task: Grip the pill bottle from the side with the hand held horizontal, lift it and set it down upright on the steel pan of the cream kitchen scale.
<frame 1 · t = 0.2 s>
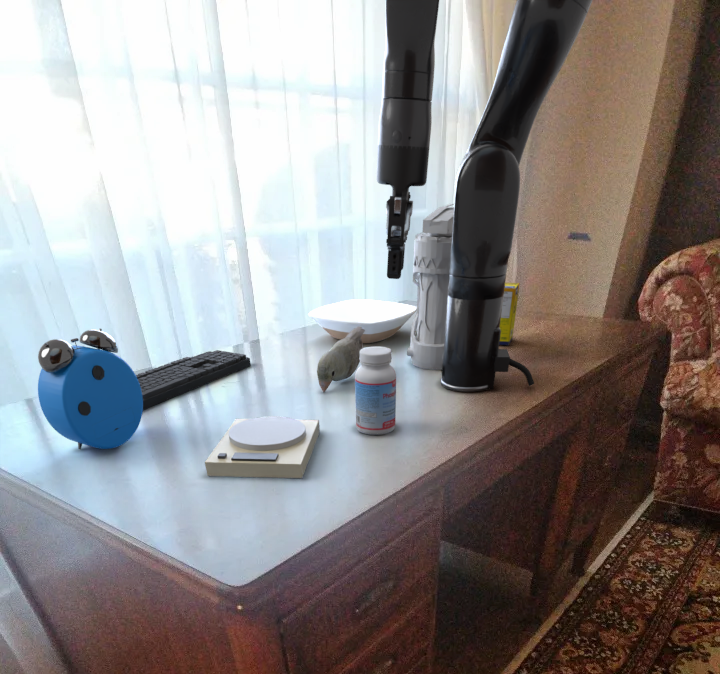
hand: (395, 274, 94), 17 cm above the table, tool pointing down, fingers open, 8 cm apart
supplement box: (496, 342, 126), on the table
bowl: (363, 336, 132), on the table
decorative bird: (342, 381, 108), on the table
keyboard: (168, 386, 107), on the table
alarm clock: (108, 445, 86), on the table
scale: (267, 453, 83), on the table
pill bottle: (375, 430, 89), on the table
lantern: (438, 362, 116), on the table
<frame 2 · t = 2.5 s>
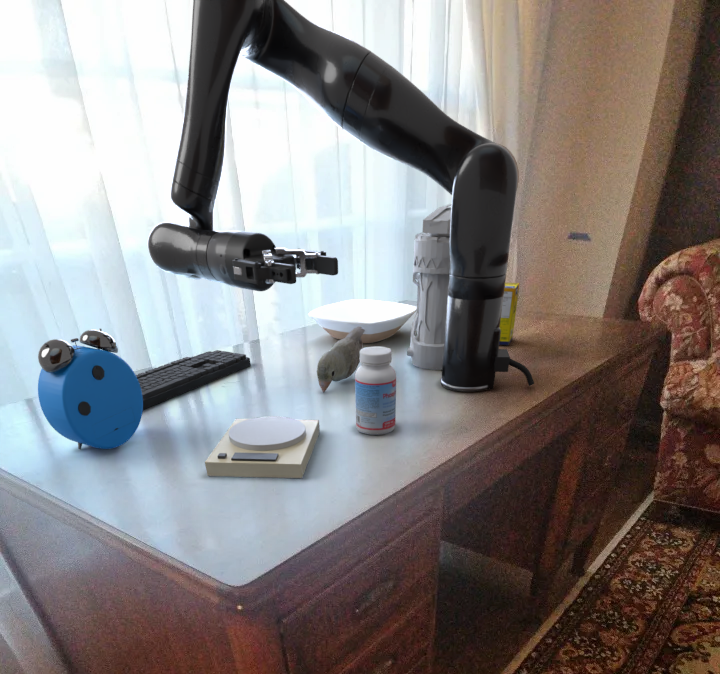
hand: (316, 270, 81), 20 cm above the table, tool horizontal, fingers open, 8 cm apart
nothing on the table moved.
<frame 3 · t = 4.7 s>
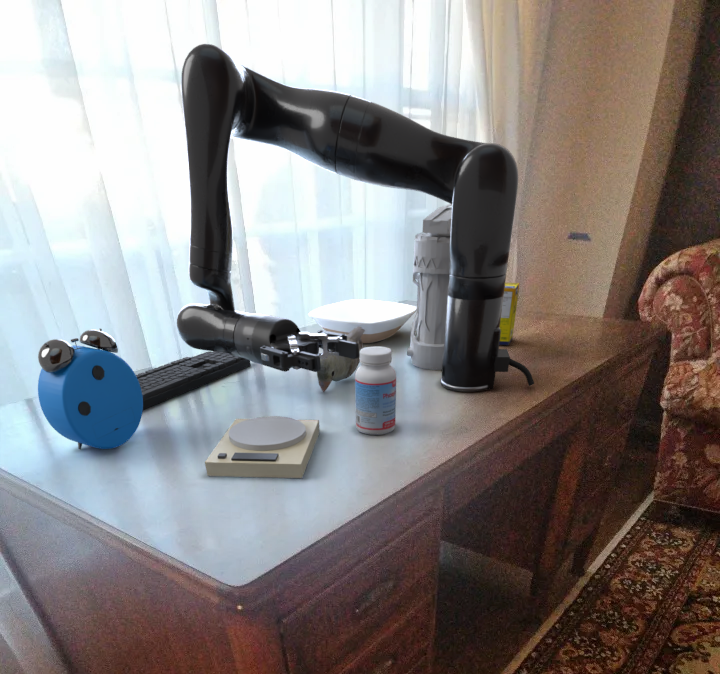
hand: (338, 357, 87), 9 cm above the table, tool horizontal, fingers open, 8 cm apart
nothing on the table moved.
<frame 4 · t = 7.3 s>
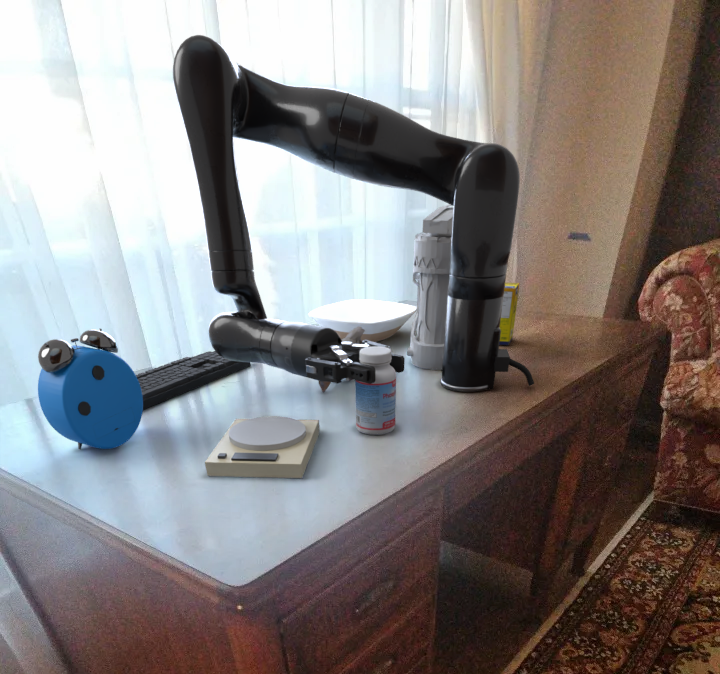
hand: (388, 370, 82), 9 cm above the table, tool horizontal, fingers closed on pill bottle, 6 cm apart
pill bottle: (375, 430, 89), on the table, touching gripper
everything else where it was.
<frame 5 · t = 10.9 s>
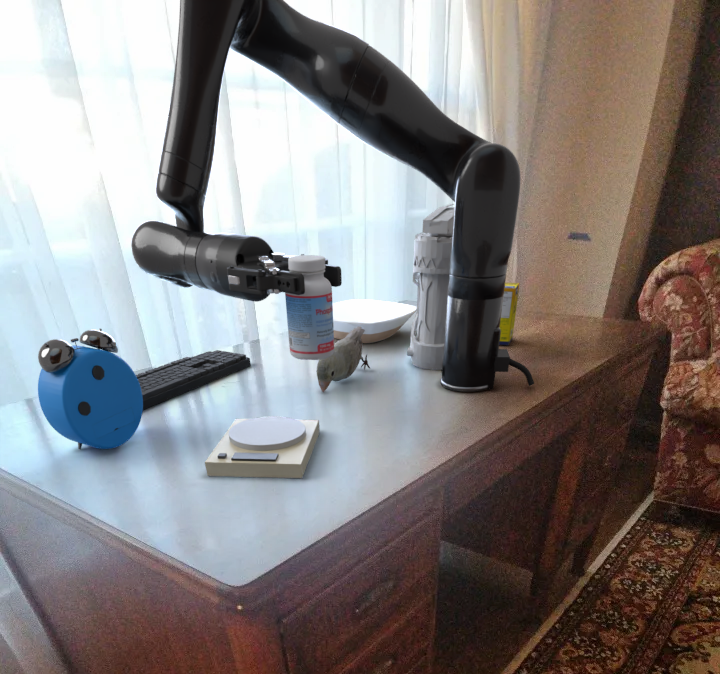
hand: (321, 280, 71), 21 cm above the table, tool horizontal, fingers closed on pill bottle, 6 cm apart
pill bottle: (312, 356, 79), point 12 cm above the table, touching gripper
everything else where it was.
when the fingers open (12 cm above the table, at t = 15.0 s): pill bottle stays where it is, resting on scale.
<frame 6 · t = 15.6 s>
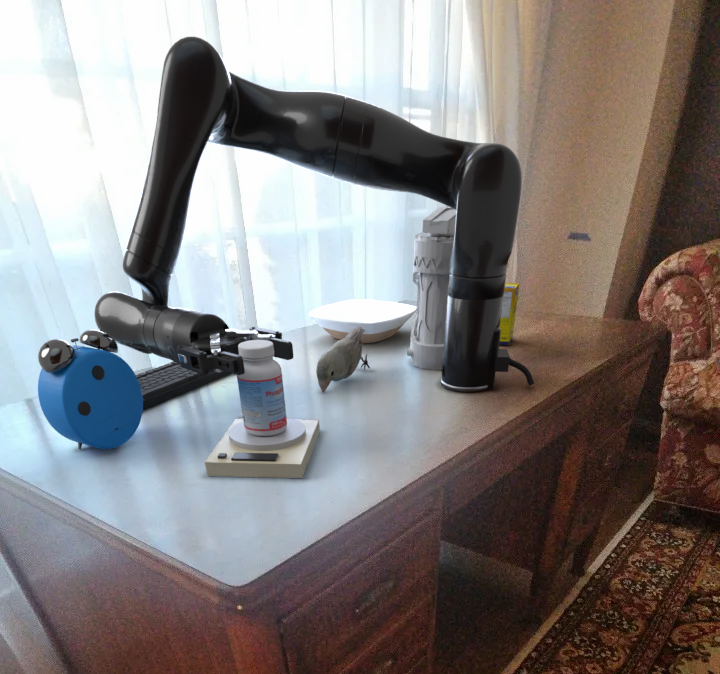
hand: (267, 358, 74), 13 cm above the table, tool horizontal, fingers open, 8 cm apart
pill bottle: (266, 431, 82), point 3 cm above the table, touching scale
everything else where it was.
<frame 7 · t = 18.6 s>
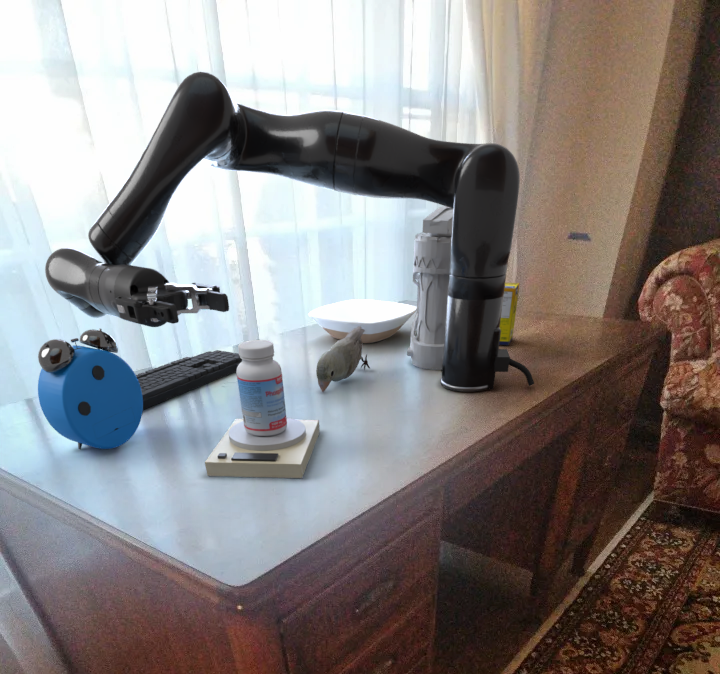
hand: (201, 308, 78), 17 cm above the table, tool horizontal, fingers open, 8 cm apart
nothing on the table moved.
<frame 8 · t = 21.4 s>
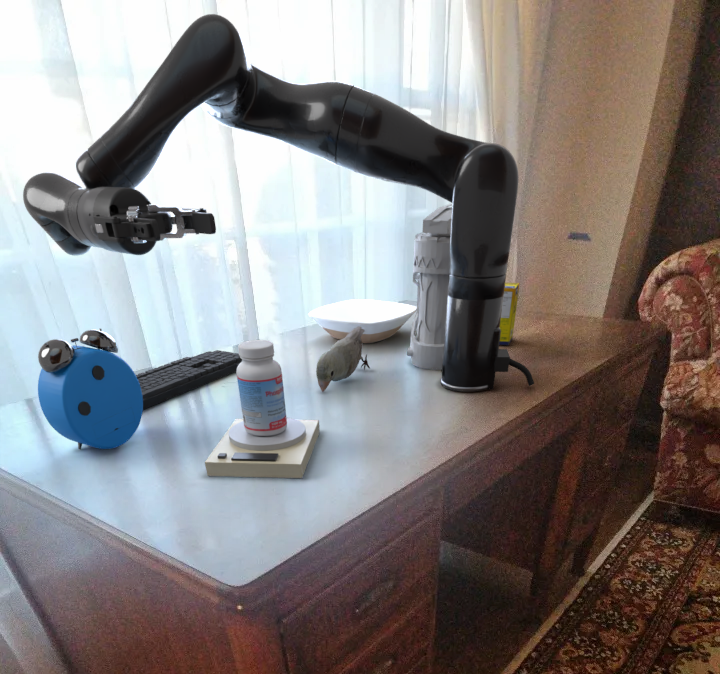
hand: (185, 227, 72), 26 cm above the table, tool horizontal, fingers open, 8 cm apart
nothing on the table moved.
at the end: pill bottle inside the target area on the scale (0.1 cm from its centre), point 2.6 cm above the scale's base; pill bottle tilted 0°; the gripper is holding nothing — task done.
